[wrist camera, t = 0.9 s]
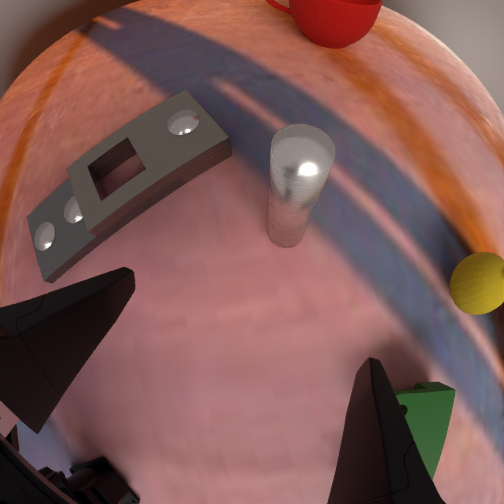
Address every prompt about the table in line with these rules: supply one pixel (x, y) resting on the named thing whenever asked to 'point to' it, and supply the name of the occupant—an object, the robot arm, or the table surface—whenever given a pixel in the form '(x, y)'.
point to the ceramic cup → (333, 19)
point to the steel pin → (296, 180)
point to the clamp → (428, 418)
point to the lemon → (478, 283)
